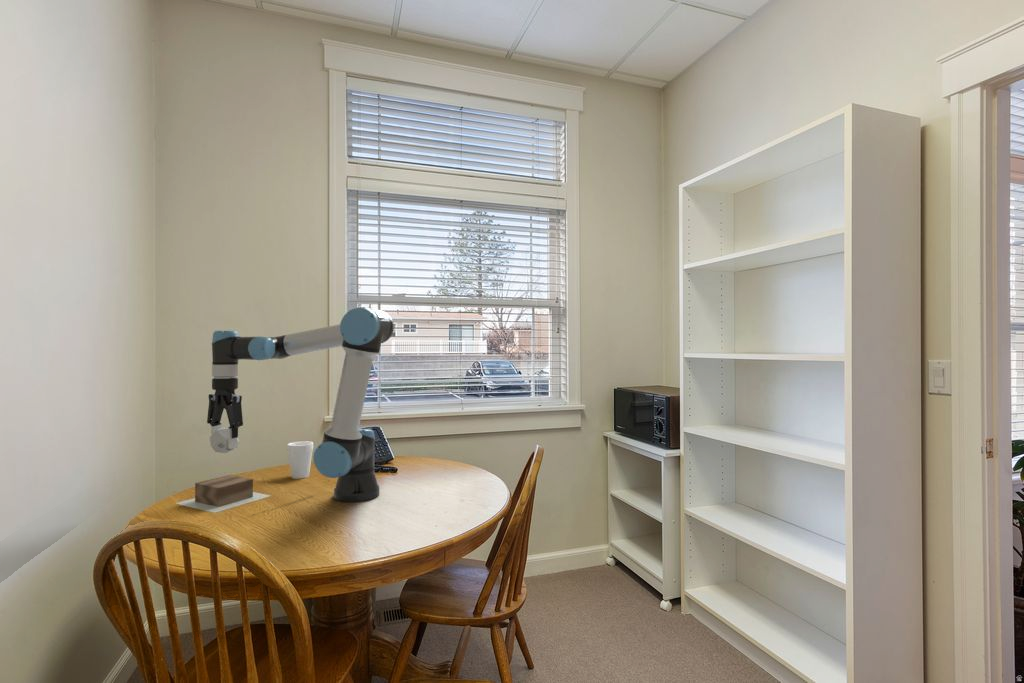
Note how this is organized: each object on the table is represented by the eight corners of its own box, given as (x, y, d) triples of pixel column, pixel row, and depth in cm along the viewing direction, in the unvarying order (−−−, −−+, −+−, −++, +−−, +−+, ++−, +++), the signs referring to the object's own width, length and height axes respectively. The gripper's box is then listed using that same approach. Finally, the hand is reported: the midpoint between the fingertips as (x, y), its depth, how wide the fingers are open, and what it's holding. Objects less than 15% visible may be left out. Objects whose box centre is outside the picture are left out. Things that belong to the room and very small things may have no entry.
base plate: (271, 498, 176) (271, 495, 176) (214, 516, 158) (214, 512, 158) (233, 490, 185) (233, 487, 185) (175, 506, 167) (175, 503, 167)
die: (208, 457, 166) (227, 433, 166) (199, 441, 171) (217, 418, 171) (231, 461, 173) (249, 438, 173) (221, 446, 178) (239, 423, 178)
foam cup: (296, 473, 210) (296, 440, 210) (317, 474, 209) (317, 441, 209) (282, 479, 201) (282, 445, 201) (305, 480, 200) (305, 446, 200)
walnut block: (252, 497, 174) (252, 479, 174) (218, 507, 164) (218, 488, 164) (229, 492, 180) (229, 474, 180) (195, 501, 169) (195, 483, 169)
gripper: (256, 377, 170) (255, 447, 170) (216, 375, 180) (215, 441, 180) (234, 379, 164) (234, 451, 164) (194, 376, 173) (194, 445, 173)
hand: (224, 446), depth 172 cm, fingers closed on die, 8 cm apart
